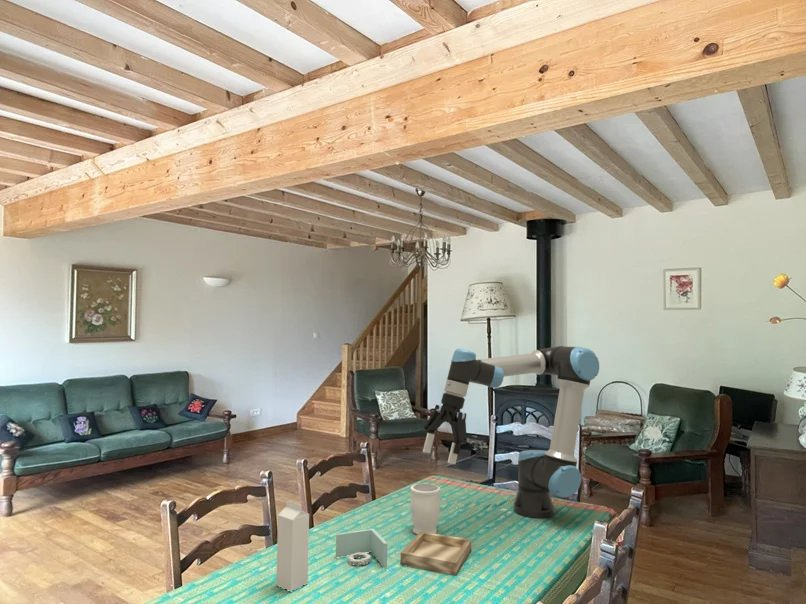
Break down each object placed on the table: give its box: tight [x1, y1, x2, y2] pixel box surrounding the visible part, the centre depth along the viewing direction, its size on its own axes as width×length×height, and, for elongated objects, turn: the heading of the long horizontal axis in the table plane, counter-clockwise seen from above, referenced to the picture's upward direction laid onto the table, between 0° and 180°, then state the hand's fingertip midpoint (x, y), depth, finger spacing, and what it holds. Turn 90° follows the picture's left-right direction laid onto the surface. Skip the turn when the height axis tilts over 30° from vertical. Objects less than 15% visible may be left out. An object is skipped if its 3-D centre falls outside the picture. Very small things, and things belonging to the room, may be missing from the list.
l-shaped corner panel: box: [335, 528, 388, 568], centre depth 157 cm, size 12×12×8 cm
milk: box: [275, 500, 310, 591], centre depth 143 cm, size 6×6×22 cm
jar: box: [409, 483, 441, 536], centre depth 182 cm, size 11×10×15 cm
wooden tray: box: [400, 531, 472, 576], centre depth 161 cm, size 17×18×4 cm
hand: (438, 458), depth 174 cm, fingers open, 13 cm apart
